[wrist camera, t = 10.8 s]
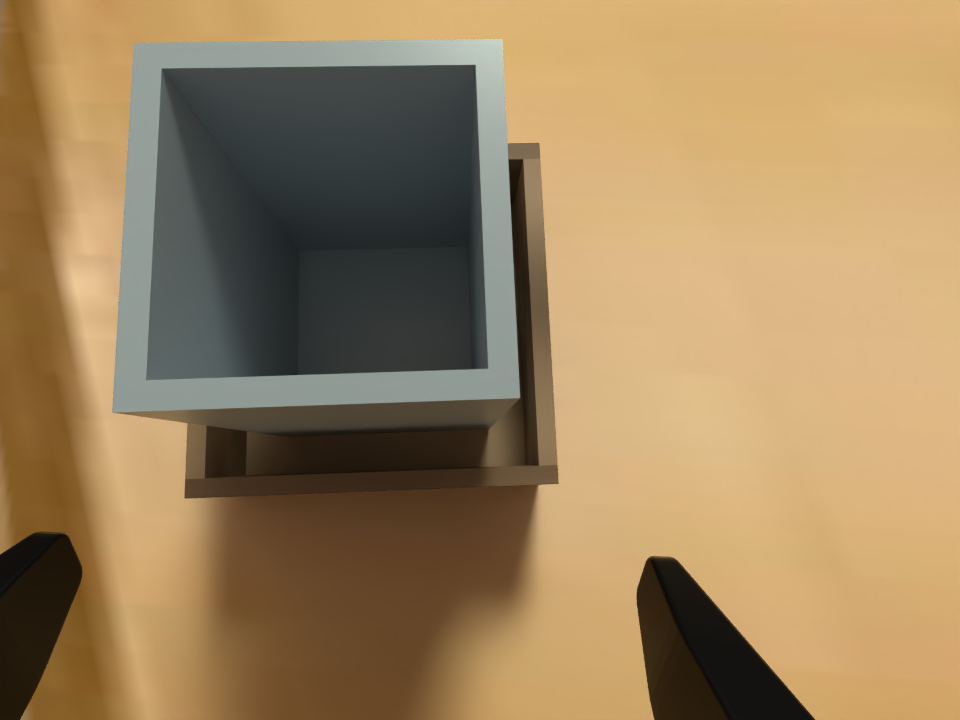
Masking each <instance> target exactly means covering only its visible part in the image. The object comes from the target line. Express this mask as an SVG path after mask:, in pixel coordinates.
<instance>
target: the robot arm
mask: <svg viewBox="0 0 960 720" xmlns="http://www.w3.org/2000/svg"><path fill="white" fill-rule="evenodd" d="M81 579H82V566H81V563H80V561H79V558H78V556H77V554H76V552H75V549H74V547H73V545H72V542H71V540H70V538H69V537H68V535H66V534H65V533H62V532H36V533H33V534H31V535H29V536H28V537H26V538H25V539H23V540H22V541H20V542H19V543H17V544H16V545H14V546H13V547H11V548H10V549H8V550H6V551H5V552H3V553H2V554H0V720H20V719H21V717H22V715H23V713H24V711H25V709H26V707H27V706H28V704H29V702H30V700H31V698H32V696H33V694H34V692H35V690H36V688H37V686H38V684H39V682H40V680H41V678H42V675H43V673H44V671H45V669H46V666H47V664H48V662H49V659H50V657H51V654H52V652H53V649H54V647H55V644H56V642H57V639H58V637H59V635H60V632H61V630H62V627H63V625H64V622H65V620H66V617H67V615H68V612H69V610H70V608H71V605H72V603H73V600H74V598H75V595H76V593H77V590H78V588H79V585H80V583H81ZM637 608H638V616H639V623H640V631H641V638H642V646H643V653H644V661H645V668H646V676H647V683H648V690H649V696H650V702H651V707H652V711H653V716H654V720H815V719H814V718H813V716H812V715H811V714H810V713H809V712H808V711H807V709H806V708H805V707H804V706H803V705H802V704H801V703H800V701H799V700H798V699H797V698H796V697H795V696H794V694H793V693H792V692H791V691H790V690H789V689H788V688H787V686H786V685H785V684H784V683H783V682H782V681H781V679H780V678H779V677H778V676H777V675H776V674H775V672H774V671H773V670H772V669H771V668H770V667H769V666H768V664H767V663H766V662H765V661H764V660H763V659H762V657H761V656H760V655H759V654H758V653H757V652H756V651H755V649H754V648H753V647H752V646H751V645H750V644H749V642H748V641H747V640H746V639H745V638H744V637H743V636H742V634H741V633H740V632H739V631H738V630H737V629H736V627H735V626H734V625H733V624H732V623H731V622H730V620H729V619H728V618H727V617H726V616H725V615H724V614H723V612H722V611H721V610H720V609H719V608H718V607H717V605H716V604H715V603H714V602H713V601H712V600H711V599H710V597H709V596H708V595H707V594H706V593H705V592H704V590H703V589H702V588H701V587H700V586H699V585H698V583H697V582H696V581H695V580H694V579H693V578H692V577H691V575H690V574H689V573H688V572H687V571H686V570H685V568H684V567H683V566H682V565H681V564H680V563H679V562H678V561H677V560H676V559H675V558H673V557H661V556H651V557H649V558H648V559H647V561H646V563H645V566H644V569H643V572H642V575H641V579H640V582H639V585H638V588H637Z"/></svg>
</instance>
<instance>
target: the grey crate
mask: <svg viewBox="0 0 960 720" xmlns="http://www.w3.org/2000/svg"><path fill="white" fill-rule="evenodd" d="M519 399H520V385H519V365H518V345H517V325H516V305H515V285H514V264H513V244H512V224H511V204H510V184H509V164H508V144H507V124H506V103H505V83H504V63H503V43H502V39H470V40H372V41H274V42H176V43H134V50H133V67H132V84H131V101H130V118H129V135H128V152H127V170H126V187H125V204H124V221H123V238H122V255H121V272H120V289H119V307H118V324H117V341H116V358H115V375H114V392H113V409H112V412H113V413H120V414H127V415H134V416H141V417H148V418H156V419H163V420H170V421H177V422H184V423H191V424H198V425H206V426H213V427H220V428H227V429H234V430H241V431H249V432H256V433H263V434H270V435H277V436H284V437H294V436H321V435H348V434H375V433H402V432H428V431H455V430H482V429H490V428H491V427H492V426H493V425H494V424H495V423H496V422H497V421H498V420H499V419H500V418H501V417H502V416H503V415H504V414H505V413H506V412H507V411H508V410H509V409H510V408H511V407H512V406H513V405H514V404H515V403H516V402H517V401H518V400H519Z"/></svg>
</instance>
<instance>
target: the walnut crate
mask: <svg viewBox="0 0 960 720" xmlns="http://www.w3.org/2000/svg"><path fill="white" fill-rule="evenodd" d="M508 164H509V184H510V204H511V224H512V244H513V264H514V285H515V305H516V325H517V345H518V365H519V385H520V399H519V400H518V401H517V402H516V403H515V404H514V405H513V406H512V407H511V408H510V409H509V410H508V411H507V412H506V413H505V414H504V415H503V416H502V417H501V418H500V419H499V420H498V421H497V422H496V423H495V424H494V425H493V426H492V427H491V428H490V429H482V430H455V431H428V432H402V433H375V434H348V435H321V436H294V437H284V436H277V435H270V434H263V433H256V432H249V431H241V430H234V429H227V428H220V427H213V426H206V425H198V424H191V423H188V426H187V451H186V475H185V498H209V497H234V496H260V495H286V494H311V493H337V492H363V491H388V490H414V489H440V488H465V487H491V486H517V485H542V484H558V467H557V449H556V431H555V413H554V396H553V378H552V360H551V342H550V325H549V307H548V289H547V271H546V253H545V236H544V218H543V200H542V182H541V165H540V147H539V143H510V144H508Z"/></svg>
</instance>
